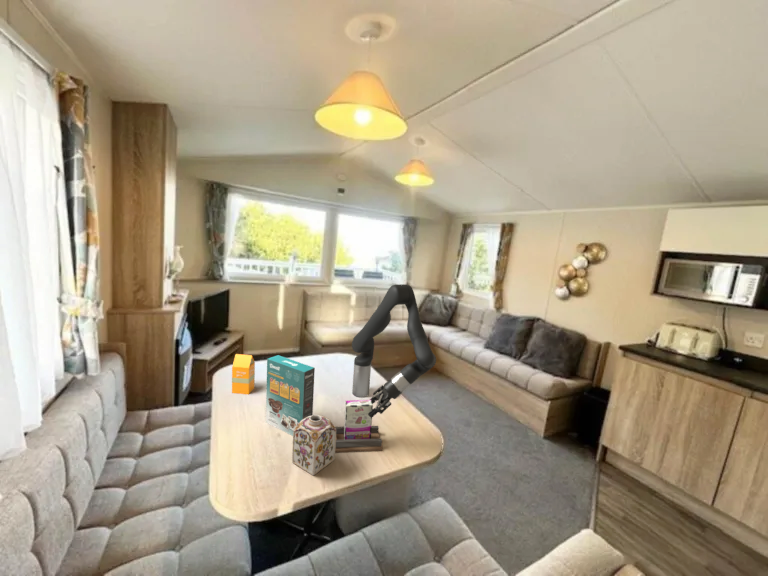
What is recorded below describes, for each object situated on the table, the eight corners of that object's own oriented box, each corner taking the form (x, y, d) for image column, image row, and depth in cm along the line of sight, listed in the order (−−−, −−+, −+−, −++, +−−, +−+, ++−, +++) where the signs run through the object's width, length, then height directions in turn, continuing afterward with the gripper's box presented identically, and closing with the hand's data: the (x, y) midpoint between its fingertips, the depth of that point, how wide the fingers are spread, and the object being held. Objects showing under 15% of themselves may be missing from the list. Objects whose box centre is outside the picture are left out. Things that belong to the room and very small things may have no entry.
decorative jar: (291, 462, 127) (292, 418, 124) (313, 448, 136) (315, 406, 133) (313, 477, 120) (316, 430, 117) (335, 460, 130) (338, 417, 127)
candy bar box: (369, 434, 146) (371, 399, 144) (370, 441, 142) (373, 405, 139) (343, 435, 144) (345, 399, 142) (344, 442, 139) (346, 405, 137)
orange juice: (248, 394, 175) (249, 357, 172) (231, 393, 175) (231, 356, 172) (254, 387, 183) (255, 352, 180) (238, 386, 183) (238, 351, 180)
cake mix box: (311, 433, 146) (314, 367, 141) (301, 440, 140) (304, 372, 136) (276, 416, 156) (278, 355, 152) (265, 422, 151) (267, 358, 147)
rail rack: (331, 432, 148) (332, 424, 147) (377, 430, 151) (377, 423, 151) (332, 452, 134) (332, 444, 134) (381, 450, 138) (382, 442, 137)
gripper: (388, 371, 148) (360, 396, 147) (394, 386, 134) (364, 413, 134) (399, 383, 149) (372, 407, 149) (406, 399, 135) (376, 425, 135)
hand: (368, 410), depth 141 cm, fingers open, 8 cm apart
